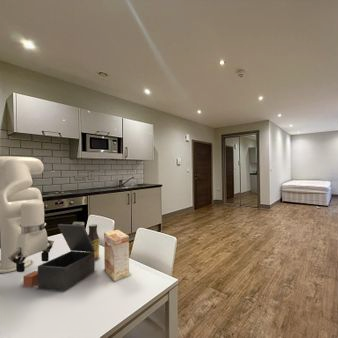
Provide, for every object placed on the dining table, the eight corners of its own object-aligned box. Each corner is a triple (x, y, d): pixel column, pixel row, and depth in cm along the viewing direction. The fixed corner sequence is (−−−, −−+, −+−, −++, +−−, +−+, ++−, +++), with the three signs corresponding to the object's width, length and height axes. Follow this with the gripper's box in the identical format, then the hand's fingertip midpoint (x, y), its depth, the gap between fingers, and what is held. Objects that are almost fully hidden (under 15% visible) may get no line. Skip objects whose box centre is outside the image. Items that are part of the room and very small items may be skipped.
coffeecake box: (103, 270, 98) (103, 232, 98) (118, 264, 104) (118, 229, 104) (113, 281, 88) (113, 239, 88) (129, 275, 93) (129, 235, 93)
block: (23, 286, 85) (23, 276, 85) (34, 280, 90) (34, 270, 90) (31, 286, 85) (31, 276, 85) (42, 281, 89) (42, 271, 89)
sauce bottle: (92, 263, 106) (91, 227, 106) (82, 262, 107) (82, 226, 107) (101, 257, 112) (101, 223, 112) (93, 256, 114) (92, 223, 114)
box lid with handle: (82, 226, 90) (90, 219, 95) (57, 225, 92) (66, 218, 97) (94, 252, 97) (101, 244, 101) (70, 250, 99) (78, 243, 103)
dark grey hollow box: (64, 291, 82) (64, 268, 82) (37, 288, 84) (37, 266, 84) (94, 271, 97) (94, 252, 97) (71, 269, 99) (71, 250, 99)
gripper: (46, 223, 96) (46, 257, 96) (1, 234, 79) (2, 276, 79) (59, 223, 95) (59, 257, 95) (16, 235, 78) (17, 277, 78)
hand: (33, 266), depth 87 cm, fingers open, 9 cm apart
